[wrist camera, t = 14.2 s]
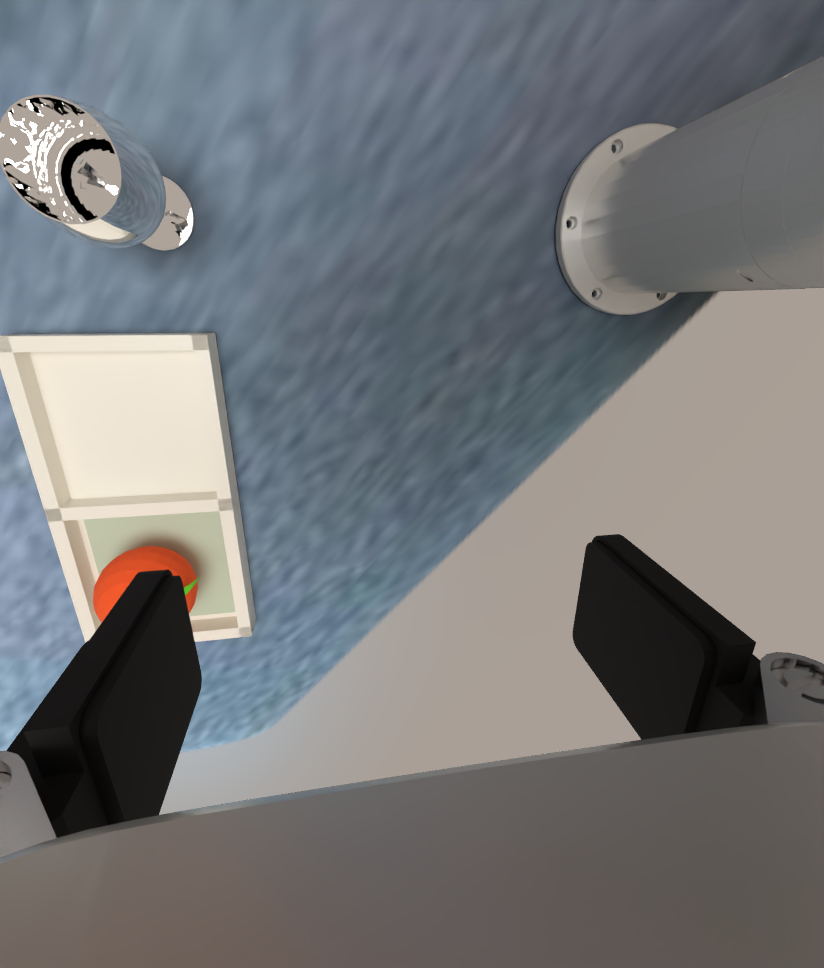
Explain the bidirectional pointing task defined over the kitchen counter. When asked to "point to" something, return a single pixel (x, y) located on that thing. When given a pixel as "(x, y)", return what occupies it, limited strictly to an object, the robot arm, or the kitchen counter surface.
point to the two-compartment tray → (134, 461)
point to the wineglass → (91, 175)
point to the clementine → (140, 560)
